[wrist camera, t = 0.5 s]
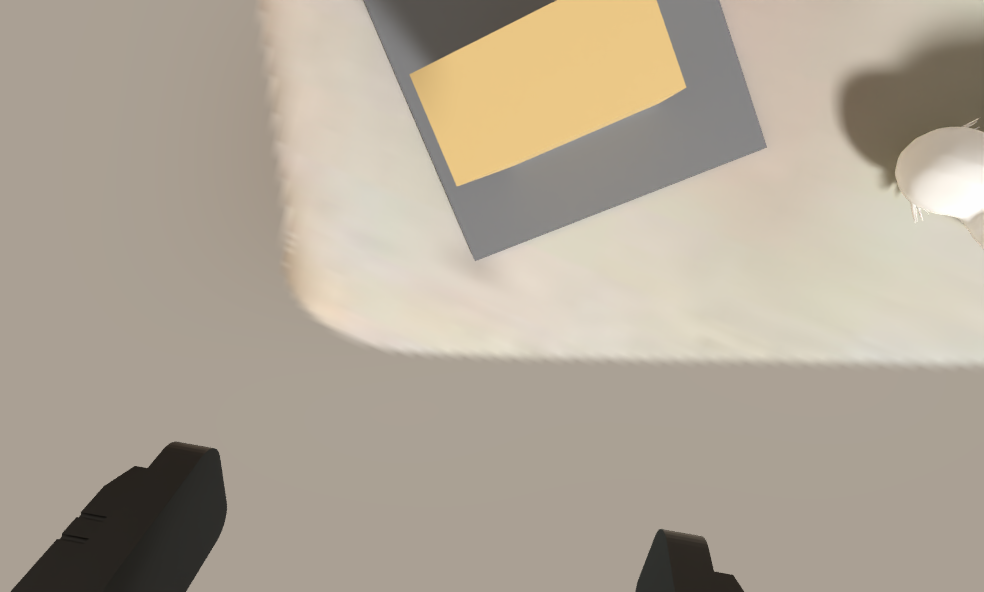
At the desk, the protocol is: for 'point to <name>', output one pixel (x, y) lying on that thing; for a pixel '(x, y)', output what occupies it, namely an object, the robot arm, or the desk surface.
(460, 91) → the ochre block
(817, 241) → the desk surface
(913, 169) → the white figurine
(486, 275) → the desk surface
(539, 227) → the charcoal mat
